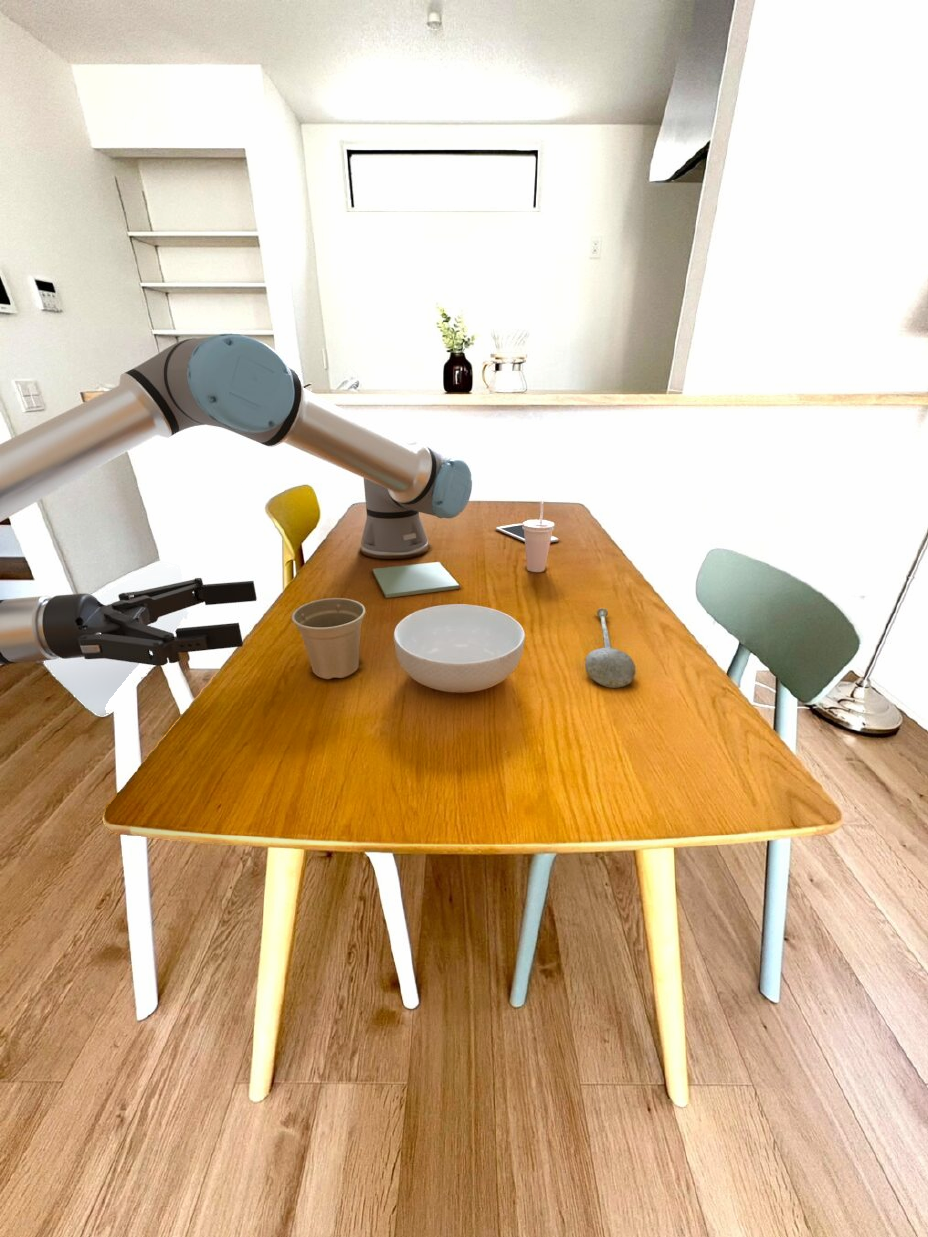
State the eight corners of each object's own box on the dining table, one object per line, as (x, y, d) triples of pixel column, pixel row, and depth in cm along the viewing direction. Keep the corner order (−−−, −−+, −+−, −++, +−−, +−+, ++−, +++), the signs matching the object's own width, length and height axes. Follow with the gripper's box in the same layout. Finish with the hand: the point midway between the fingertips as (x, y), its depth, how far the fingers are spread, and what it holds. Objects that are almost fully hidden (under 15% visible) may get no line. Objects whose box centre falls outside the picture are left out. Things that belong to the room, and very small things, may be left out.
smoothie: (537, 576, 104) (541, 507, 98) (513, 568, 109) (516, 501, 102) (557, 569, 108) (563, 502, 102) (534, 561, 112) (538, 496, 106)
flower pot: (354, 690, 67) (348, 631, 63) (287, 683, 69) (277, 624, 65) (379, 655, 75) (375, 600, 72) (319, 649, 77) (312, 595, 73)
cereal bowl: (420, 726, 60) (418, 674, 57) (381, 660, 74) (378, 615, 71) (546, 693, 67) (550, 645, 64) (489, 638, 80) (490, 596, 77)
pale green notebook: (373, 572, 106) (372, 568, 106) (439, 565, 110) (438, 561, 110) (385, 598, 94) (385, 594, 94) (459, 589, 98) (459, 585, 98)
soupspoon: (583, 689, 69) (634, 696, 68) (587, 667, 67) (639, 675, 66) (582, 614, 88) (622, 619, 87) (585, 596, 86) (626, 601, 85)
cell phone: (533, 546, 122) (533, 543, 122) (495, 529, 134) (495, 527, 134) (559, 541, 125) (559, 538, 125) (520, 525, 138) (520, 523, 138)
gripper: (105, 613, 74) (263, 600, 78) (12, 715, 52) (239, 688, 56) (89, 563, 71) (255, 552, 75) (-17, 649, 49) (225, 626, 53)
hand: (248, 610), depth 66 cm, fingers open, 13 cm apart
